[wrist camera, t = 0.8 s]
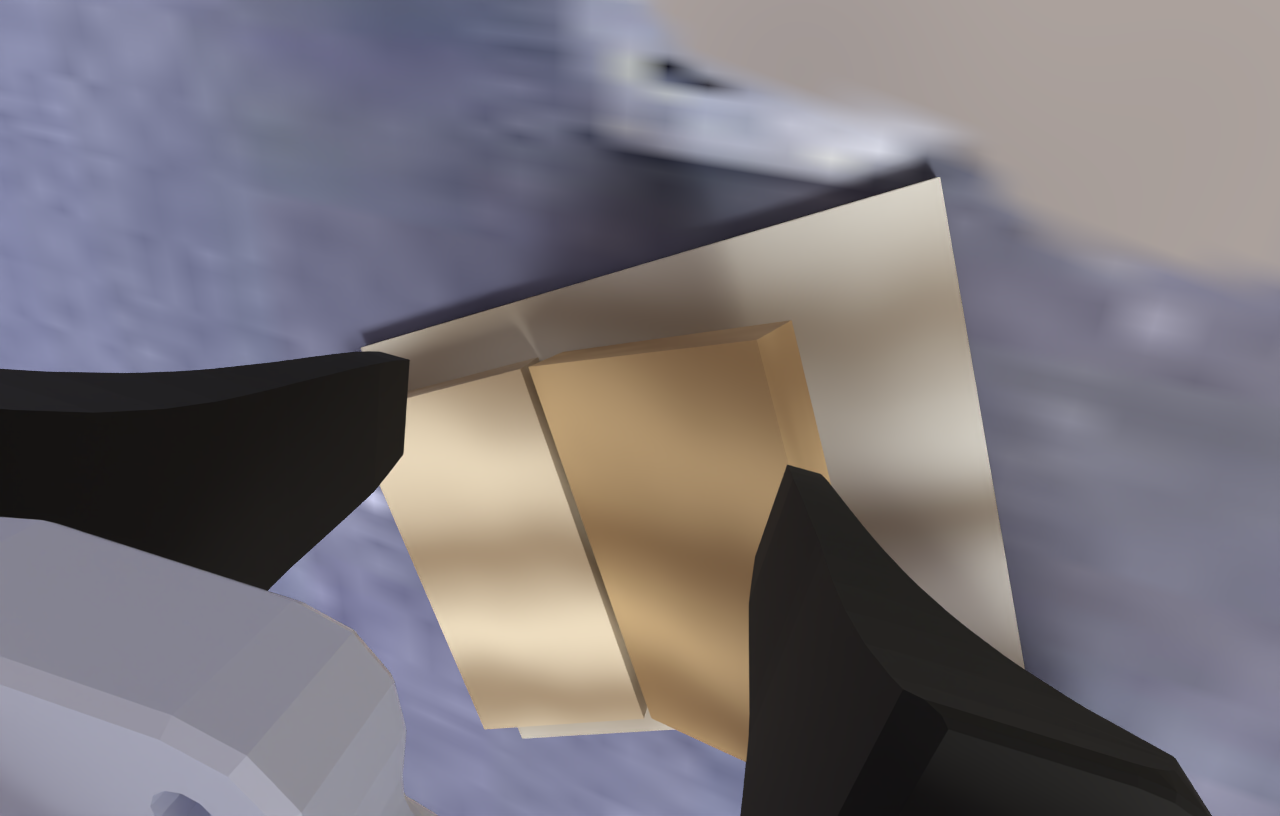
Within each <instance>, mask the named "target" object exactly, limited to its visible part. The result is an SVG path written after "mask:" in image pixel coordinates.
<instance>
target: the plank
mask: <svg viewBox="0 0 1280 816" xmlns="http://www.w3.org/2000/svg"><path fill="white" fill-rule="evenodd" d="M529 370H530V373H531V376H532V379H533V382H534V385H535V387H536V390H537V393H538V396H539V399H540V402H541V405H542V407H543V410H544V413H545V416H546V419H547V422H548V425H549V427H550V430H551V433H552V436H553V439H554V442H555V445H556V447H557V450H558V453H559V456H560V459H561V462H562V465H563V467H564V470H565V473H566V476H567V479H568V482H569V485H570V487H571V490H572V493H573V496H574V499H575V502H576V505H577V507H578V510H579V513H580V516H581V519H582V522H583V525H584V527H585V530H586V533H587V536H588V539H589V542H590V545H591V547H592V550H593V553H594V556H595V559H596V562H597V565H598V567H599V570H600V573H601V576H602V579H603V582H604V585H605V587H606V590H607V593H608V596H609V599H610V602H611V604H612V607H613V610H614V613H615V616H616V619H617V622H618V624H619V627H620V630H621V633H622V636H623V639H624V642H625V644H626V647H627V650H628V653H629V656H630V659H631V662H632V664H633V667H634V670H635V673H636V676H637V679H638V682H639V684H640V687H641V690H642V693H643V696H644V699H645V702H646V704H647V707H648V710H649V713H650V716H651V718H652V719H654V720H656V721H658V722H660V723H663V724H665V725H667V726H669V727H671V728H673V729H676V730H678V731H680V732H682V733H684V734H686V735H689V736H691V737H693V738H695V739H697V740H699V741H702V742H704V743H706V744H708V745H710V746H712V747H715V748H717V749H719V750H721V751H723V752H725V753H728V754H730V755H732V756H734V757H736V758H738V759H741V760H743V761H745V762H746V758H747V748H748V737H749V597H750V589H751V581H752V574H753V567H754V560H755V555H756V552H757V549H758V547H759V544H760V541H761V538H762V535H763V532H764V529H765V526H766V524H767V521H768V518H769V515H770V512H771V509H772V506H773V503H774V501H775V498H776V495H777V492H778V489H779V486H780V483H781V480H782V478H783V475H784V472H785V469H786V466H787V465H791V466H794V467H798V468H802V469H805V470H809V471H812V472H816V473H820V474H822V475H823V476H824V477H825V478H826V480H827V481H828V482H829V483H830V484H831V482H830V478H829V474H828V470H827V465H826V461H825V457H824V453H823V449H822V445H821V440H820V436H819V432H818V428H817V424H816V420H815V415H814V411H813V407H812V403H811V399H810V395H809V390H808V386H807V382H806V378H805V374H804V370H803V366H802V361H801V357H800V353H799V349H798V345H797V341H796V336H795V332H794V328H793V324H792V320H789V321H782V322H775V323H768V324H760V325H753V326H746V327H739V328H732V329H724V330H717V331H710V332H703V333H695V334H688V335H681V336H674V337H667V338H659V339H652V340H645V341H638V342H630V343H623V344H616V345H609V346H602V347H594V348H587V349H580V350H573V351H565V352H561V353H559V354H557V355H554V356H552V357H550V358H548V359H545V360H543V361H541V362H538V363H536V364H534V365H531V366H529Z"/></svg>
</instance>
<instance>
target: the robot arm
mask: <svg viewBox="0 0 1280 816" xmlns="http://www.w3.org/2000/svg"><path fill="white" fill-rule="evenodd" d="M409 365H410V360H409V359H405V358H402V357H398V356H394V355H391V354H387V353H384V352H379V351H362V352H349V353H340V354H331V355H324V356H316V357H308V358H301V359H294V360H286V361H279V362H271V363H262V364H253V365H244V366H235V367H225V368H216V369H205V370H192V371H176V372H150V373H86V372H43V371H26V370H10V369H0V816H438V815H437V814H435V813H434V812H432V811H430V810H429V809H427V808H425V807H424V806H422V805H420V804H419V803H417V802H416V801H414V800H412V799H410V798H408V797H406V795H405V793H404V788H403V777H402V776H403V764H404V752H405V741H406V727H405V723H404V719H403V715H402V711H401V707H400V703H399V699H398V694H397V690H396V686H395V682H394V680H393V677H392V675H391V673H390V672H389V671H388V670H387V668H386V667H385V666H384V665H383V664H382V663H381V661H380V660H379V659H378V658H377V657H376V656H375V654H374V653H373V652H372V651H371V650H370V648H369V647H368V646H367V645H366V644H365V643H364V641H363V640H362V639H361V638H360V637H359V636H358V634H357V633H356V632H355V631H354V630H353V629H351V628H349V627H347V626H345V625H343V624H342V623H340V622H338V621H336V620H334V619H332V618H330V617H329V616H327V615H325V614H323V613H321V612H319V611H318V610H316V609H314V608H312V607H310V606H308V605H307V604H305V603H303V602H301V601H298V600H294V599H291V598H288V597H285V596H282V595H279V594H276V593H273V592H269V591H268V590H269V589H270V588H271V587H272V586H273V585H274V584H275V583H276V582H277V581H278V580H279V579H280V578H281V577H282V576H283V575H284V574H285V573H286V572H287V571H288V570H289V569H290V568H291V567H292V566H293V565H294V564H295V563H296V562H298V561H299V560H300V559H301V558H302V557H303V556H304V555H305V554H306V553H307V552H309V551H310V550H311V549H312V548H313V547H314V546H315V545H316V544H317V543H319V542H320V541H321V540H322V539H323V538H324V537H325V536H326V535H327V534H328V533H330V532H331V531H332V530H333V529H334V528H335V527H336V526H337V525H338V524H340V523H341V522H342V521H343V520H344V519H345V518H346V517H347V516H348V515H349V514H350V513H352V512H353V511H354V510H355V509H356V508H357V507H358V506H359V505H360V504H361V503H362V502H363V501H364V500H366V499H367V498H368V497H369V496H370V495H371V494H372V493H373V492H374V491H375V490H376V488H377V487H378V486H379V485H380V484H381V482H382V481H383V480H384V479H385V478H386V476H387V475H388V474H389V473H390V471H391V470H392V469H393V467H394V466H395V465H396V464H397V462H398V461H399V460H400V458H401V457H402V456H403V454H404V440H405V425H406V410H407V395H408V380H409ZM741 816H1212V815H1211V814H1210V812H1209V811H1208V809H1207V807H1206V806H1205V804H1204V803H1203V801H1202V800H1201V798H1200V796H1199V795H1198V793H1197V792H1196V790H1195V789H1194V787H1193V785H1192V784H1191V782H1190V781H1189V779H1188V778H1187V776H1186V774H1185V773H1184V771H1183V770H1182V768H1181V767H1180V765H1179V763H1178V762H1177V760H1176V759H1175V758H1174V757H1173V756H1171V755H1170V754H1168V753H1166V752H1164V751H1162V750H1161V749H1159V748H1157V747H1155V746H1153V745H1151V744H1150V743H1148V742H1146V741H1144V740H1142V739H1141V738H1139V737H1137V736H1135V735H1133V734H1132V733H1130V732H1128V731H1126V730H1124V729H1123V728H1121V727H1119V726H1117V725H1115V724H1113V723H1112V722H1110V721H1108V720H1106V719H1104V718H1103V717H1101V716H1099V715H1097V714H1095V713H1094V712H1092V711H1090V710H1088V709H1086V708H1085V707H1083V706H1081V705H1080V704H1078V703H1076V702H1075V701H1073V700H1071V699H1070V698H1068V697H1067V696H1065V695H1064V694H1062V693H1060V692H1059V691H1057V690H1056V689H1054V688H1053V687H1051V686H1049V685H1048V684H1046V683H1045V682H1043V681H1042V680H1040V679H1038V678H1037V677H1035V676H1034V675H1032V674H1031V673H1029V672H1028V671H1026V670H1025V669H1023V668H1022V667H1020V666H1019V665H1017V664H1016V663H1015V662H1013V661H1012V660H1010V659H1009V658H1007V657H1006V656H1004V655H1003V654H1002V653H1000V652H999V651H998V650H996V649H995V648H994V647H992V646H991V645H990V644H988V643H987V642H986V641H984V640H983V639H982V638H980V637H979V636H978V635H976V634H975V633H974V632H972V631H971V630H970V629H968V628H967V627H966V626H965V625H963V624H962V623H961V622H960V621H958V620H957V619H956V618H955V617H953V616H952V615H951V614H950V613H949V612H947V611H946V610H945V609H944V608H943V607H942V606H941V605H940V604H938V603H937V602H936V601H935V600H934V599H933V598H932V597H931V596H930V595H928V594H927V593H926V592H925V591H924V590H923V589H922V588H921V587H919V586H918V585H917V584H916V583H915V582H914V581H913V580H912V579H911V578H910V577H909V576H908V575H907V574H906V573H905V572H904V571H903V570H902V569H901V568H900V567H899V565H898V564H897V563H896V562H895V561H894V560H893V559H892V558H891V557H890V556H889V555H888V554H887V553H886V552H885V551H884V549H883V548H882V547H881V546H880V545H879V544H878V543H877V541H876V540H875V539H874V538H873V537H872V536H871V534H870V533H869V532H868V531H867V530H866V528H865V527H864V526H863V525H862V524H861V522H860V521H859V520H858V519H857V517H856V516H855V515H854V514H853V512H852V511H851V510H850V509H849V507H848V506H847V505H846V503H845V502H844V501H843V500H842V498H841V497H840V496H839V494H838V493H837V492H836V491H835V489H834V488H833V487H832V486H831V484H830V483H829V482H828V481H827V480H826V478H825V477H824V476H823V475H822V474H820V473H816V472H812V471H809V470H805V469H802V468H798V467H794V466H791V465H787V466H786V469H785V472H784V475H783V478H782V480H781V483H780V486H779V489H778V492H777V495H776V498H775V501H774V503H773V506H772V509H771V512H770V515H769V518H768V521H767V524H766V526H765V529H764V532H763V535H762V538H761V541H760V544H759V547H758V549H757V552H756V555H755V560H754V567H753V574H752V581H751V589H750V597H749V737H748V748H747V758H746V768H745V778H744V788H743V798H742V807H741Z"/></svg>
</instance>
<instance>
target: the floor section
mask: <svg viewBox="0 0 1280 816" xmlns="http://www.w3.org/2000/svg"><path fill="white" fill-rule="evenodd" d="M789 320H792V324H793V328H794V332H795V336H796V341H797V345H798V349H799V353H800V357H801V361H802V366H803V370H804V374H805V378H806V382H807V386H808V390H809V395H810V399H811V403H812V407H813V411H814V415H815V420H816V424H817V428H818V432H819V436H820V440H821V445H822V449H823V453H824V457H825V461H826V465H827V470H828V474H829V478H830V482H831V486H832V487H833V488H834V489H835V491H836V492H837V493H838V494H839V496H840V497H841V498H842V500H843V501H844V502H845V503H846V505H847V506H848V507H849V509H850V510H851V511H852V512H853V514H854V515H855V516H856V517H857V519H858V520H859V521H860V522H861V524H862V525H863V526H864V527H865V528H866V530H867V531H868V532H869V533H870V534H871V536H872V537H873V538H874V539H875V540H876V541H877V543H878V544H879V545H880V546H881V547H882V548H883V549H884V551H885V552H886V553H887V554H888V555H889V556H890V557H891V558H892V559H893V560H894V561H895V562H896V563H897V564H898V565H899V567H900V568H901V569H902V570H903V571H904V572H905V573H906V574H907V575H908V576H909V577H910V578H911V579H912V580H913V581H914V582H915V583H916V584H917V585H918V586H919V587H921V588H922V589H923V590H924V591H925V592H926V593H927V594H928V595H930V596H931V597H932V598H933V599H934V600H935V601H936V602H937V603H938V604H940V605H941V606H942V607H943V608H944V609H945V610H946V611H947V612H949V613H950V614H951V615H952V616H953V617H955V618H956V619H957V620H958V621H960V622H961V623H962V624H963V625H965V626H966V627H967V628H968V629H970V630H971V631H972V632H974V633H975V634H976V635H978V636H979V637H980V638H982V639H983V640H984V641H986V642H987V643H988V644H990V645H991V646H992V647H994V648H995V649H996V650H998V651H999V652H1000V653H1002V654H1003V655H1004V656H1006V657H1007V658H1009V659H1010V660H1012V661H1013V662H1015V663H1016V664H1017V665H1019V666H1020V667H1022V668H1023V669H1025V667H1024V662H1023V656H1022V650H1021V644H1020V638H1019V633H1018V627H1017V621H1016V615H1015V609H1014V604H1013V598H1012V592H1011V586H1010V580H1009V575H1008V569H1007V563H1006V557H1005V551H1004V546H1003V540H1002V534H1001V528H1000V522H999V517H998V511H997V505H996V499H995V493H994V488H993V482H992V476H991V470H990V464H989V459H988V453H987V447H986V441H985V435H984V430H983V424H982V418H981V412H980V406H979V401H978V395H977V389H976V383H975V377H974V372H973V366H972V360H971V354H970V348H969V343H968V337H967V331H966V325H965V319H964V314H963V308H962V302H961V296H960V290H959V285H958V279H957V273H956V267H955V261H954V256H953V250H952V244H951V238H950V232H949V227H948V221H947V215H946V209H945V203H944V198H943V192H942V186H941V180H940V177H936V178H933V179H929V180H926V181H922V182H919V183H916V184H912V185H909V186H905V187H902V188H899V189H895V190H892V191H888V192H885V193H882V194H878V195H875V196H872V197H868V198H865V199H861V200H858V201H855V202H851V203H848V204H844V205H841V206H838V207H834V208H831V209H828V210H824V211H821V212H817V213H814V214H811V215H807V216H804V217H800V218H797V219H794V220H790V221H787V222H783V223H780V224H777V225H773V226H770V227H767V228H763V229H760V230H756V231H753V232H750V233H746V234H743V235H739V236H736V237H733V238H729V239H726V240H723V241H719V242H716V243H712V244H709V245H706V246H702V247H699V248H695V249H692V250H689V251H685V252H682V253H678V254H675V255H672V256H668V257H665V258H662V259H658V260H655V261H651V262H648V263H645V264H641V265H638V266H634V267H631V268H628V269H624V270H621V271H618V272H614V273H611V274H607V275H604V276H601V277H597V278H594V279H590V280H587V281H584V282H580V283H577V284H573V285H570V286H567V287H563V288H560V289H557V290H553V291H550V292H546V293H543V294H540V295H536V296H533V297H529V298H526V299H523V300H519V301H516V302H513V303H509V304H506V305H502V306H499V307H496V308H492V309H489V310H485V311H482V312H479V313H475V314H472V315H468V316H465V317H462V318H458V319H455V320H452V321H448V322H445V323H441V324H438V325H435V326H431V327H428V328H424V329H421V330H418V331H414V332H411V333H407V334H404V335H401V336H397V337H394V338H391V339H387V340H384V341H380V342H377V343H374V344H370V345H367V346H365V347H362V348H361V350H362V351H379V352H384V353H387V354H391V355H394V356H398V357H402V358H405V359H409V360H410V365H409V380H408V395H407V410H406V425H405V440H404V454H403V456H402V457H401V458H400V460H399V461H398V462H397V464H396V465H395V466H394V467H393V469H392V470H391V471H390V473H389V474H388V475H387V476H386V478H385V479H384V480H383V481H382V482H381V484H380V487H381V489H382V492H383V494H384V496H385V499H386V501H387V503H388V506H389V508H390V510H391V513H392V515H393V517H394V520H395V522H396V524H397V527H398V529H399V531H400V534H401V536H402V538H403V541H404V543H405V545H406V548H407V550H408V552H409V555H410V557H411V559H412V562H413V564H414V566H415V569H416V571H417V573H418V575H419V578H420V580H421V582H422V585H423V587H424V589H425V592H426V594H427V596H428V599H429V601H430V603H431V606H432V608H433V610H434V613H435V615H436V617H437V620H438V622H439V624H440V627H441V629H442V631H443V634H444V636H445V638H446V641H447V643H448V645H449V648H450V650H451V652H452V655H453V657H454V659H455V662H456V664H457V666H458V669H459V671H460V673H461V675H462V678H463V680H464V682H465V685H466V687H467V689H468V692H469V694H470V696H471V699H472V701H473V703H474V706H475V708H476V710H477V713H478V715H479V717H480V720H481V722H482V724H483V727H484V729H497V728H512V727H518V729H519V732H520V734H521V736H522V738H539V737H556V736H572V735H589V734H606V733H623V732H639V731H656V730H673V728H671V727H669V726H667V725H665V724H663V723H660V722H658V721H656V720H654V719H652V718H651V716H650V713H649V710H648V707H647V704H646V702H645V699H644V696H643V693H642V690H641V687H640V684H639V682H638V679H637V676H636V673H635V670H634V667H633V664H632V662H631V659H630V656H629V653H628V650H627V647H626V644H625V642H624V639H623V636H622V633H621V630H620V627H619V624H618V622H617V619H616V616H615V613H614V610H613V607H612V604H611V602H610V599H609V596H608V593H607V590H606V587H605V585H604V582H603V579H602V576H601V573H600V570H599V567H598V565H597V562H596V559H595V556H594V553H593V550H592V547H591V545H590V542H589V539H588V536H587V533H586V530H585V527H584V525H583V522H582V519H581V516H580V513H579V510H578V507H577V505H576V502H575V499H574V496H573V493H572V490H571V487H570V485H569V482H568V479H567V476H566V473H565V470H564V467H563V465H562V462H561V459H560V456H559V453H558V450H557V447H556V445H555V442H554V439H553V436H552V433H551V430H550V427H549V425H548V422H547V419H546V416H545V413H544V410H543V407H542V405H541V402H540V399H539V396H538V393H537V390H536V387H535V385H534V382H533V379H532V376H531V373H530V370H529V366H531V365H534V364H536V363H538V362H541V361H543V360H545V359H548V358H550V357H552V356H554V355H557V354H559V353H561V352H565V351H573V350H580V349H587V348H594V347H602V346H609V345H616V344H623V343H630V342H638V341H645V340H652V339H659V338H667V337H674V336H681V335H688V334H695V333H703V332H710V331H717V330H724V329H732V328H739V327H746V326H753V325H760V324H768V323H775V322H782V321H789Z"/></svg>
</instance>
